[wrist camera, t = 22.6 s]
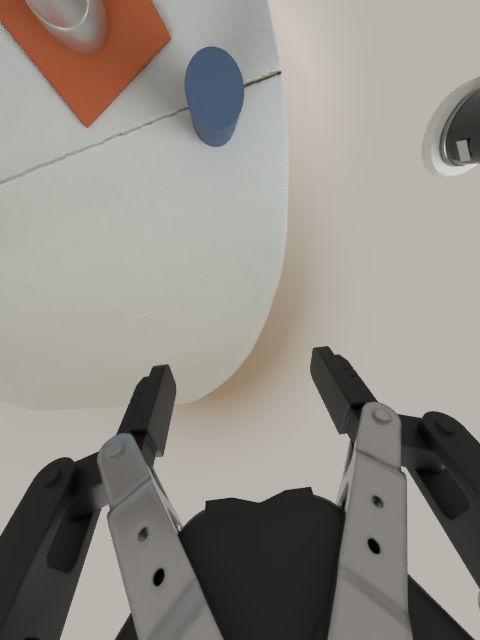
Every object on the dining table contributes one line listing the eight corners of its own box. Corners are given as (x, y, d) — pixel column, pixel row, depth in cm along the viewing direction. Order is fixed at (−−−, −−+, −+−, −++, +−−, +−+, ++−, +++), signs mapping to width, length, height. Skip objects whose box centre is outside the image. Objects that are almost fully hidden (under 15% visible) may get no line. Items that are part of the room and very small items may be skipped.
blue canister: (218, 77, 26) (220, 27, 18) (243, 128, 28) (254, 103, 21) (183, 110, 27) (171, 77, 19) (210, 156, 30) (209, 143, 22)
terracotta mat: (71, -144, 18) (67, -154, 18) (171, 39, 24) (170, 36, 23) (-21, -6, 21) (-26, -11, 21) (87, 128, 27) (85, 126, 26)
